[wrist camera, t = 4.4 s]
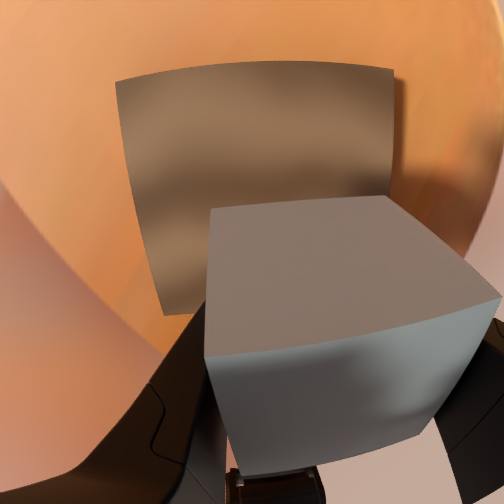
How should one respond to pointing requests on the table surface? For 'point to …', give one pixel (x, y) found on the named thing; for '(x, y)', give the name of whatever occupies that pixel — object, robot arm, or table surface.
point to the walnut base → (246, 151)
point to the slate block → (333, 327)
